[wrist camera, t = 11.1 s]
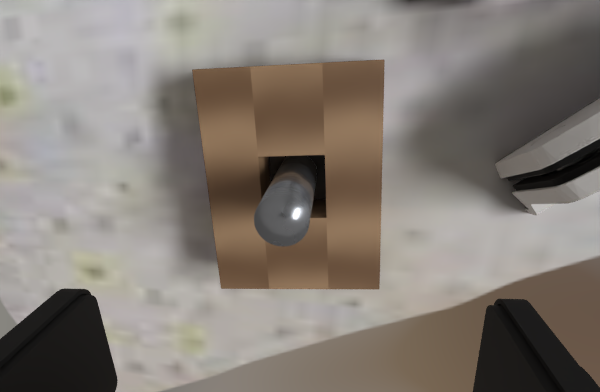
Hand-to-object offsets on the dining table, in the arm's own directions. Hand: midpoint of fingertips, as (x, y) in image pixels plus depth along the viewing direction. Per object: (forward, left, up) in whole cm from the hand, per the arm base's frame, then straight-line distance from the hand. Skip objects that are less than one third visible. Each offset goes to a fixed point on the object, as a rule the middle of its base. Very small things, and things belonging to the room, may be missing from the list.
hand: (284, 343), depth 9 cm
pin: (+1, -2, -21) cm, 21 cm away
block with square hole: (+1, -2, -21) cm, 21 cm away
